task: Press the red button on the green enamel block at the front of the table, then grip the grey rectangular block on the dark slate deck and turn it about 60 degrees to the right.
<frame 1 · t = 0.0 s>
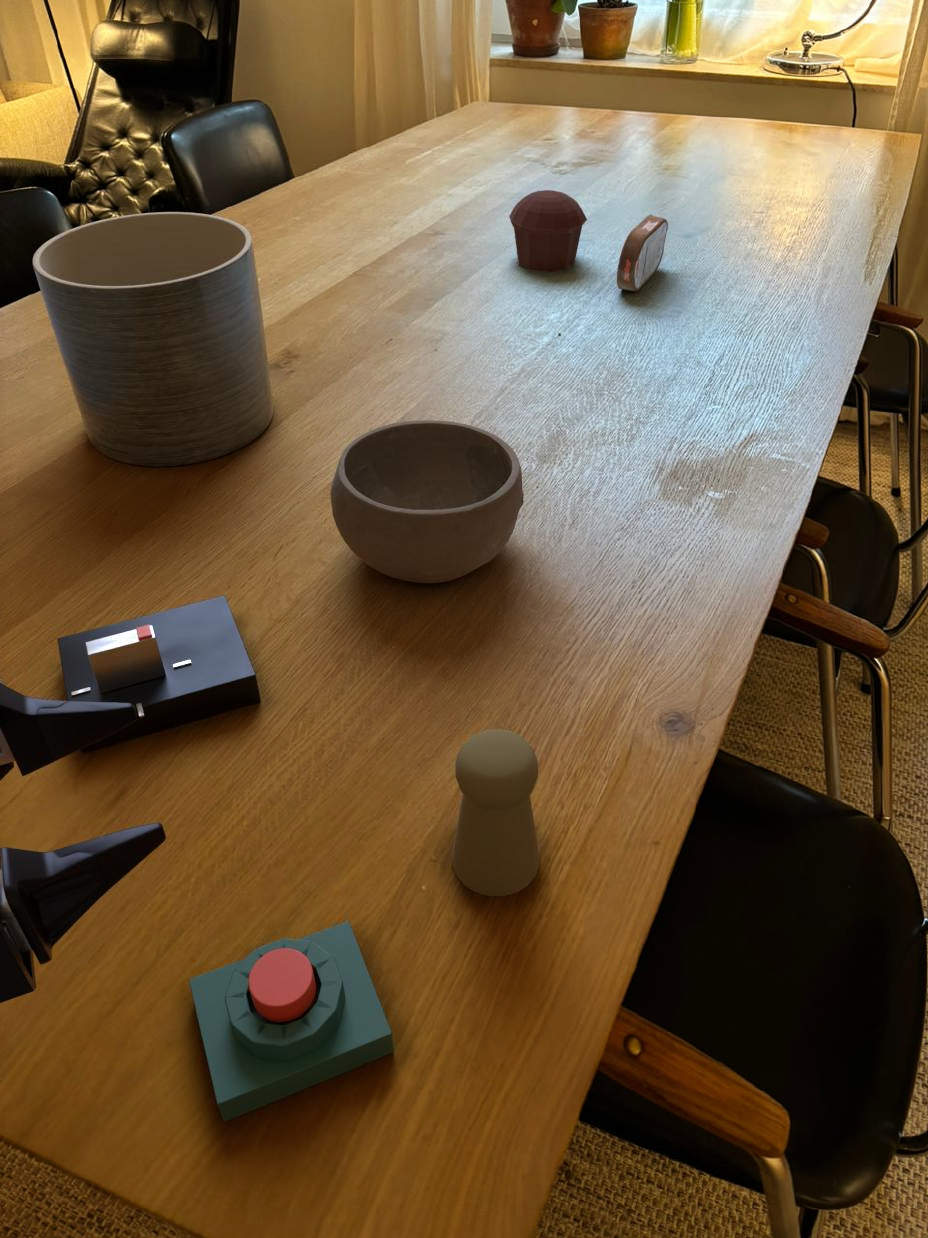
hand: (148, 767, 53), 16 cm above the table, tool horizontal, fingers open, 9 cm apart
button block: (292, 1024, 59), on the table
button: (282, 985, 56), point 4 cm above the table, slide at 0.1 cm
cork: (495, 860, 68), on the table
planter: (182, 421, 116), on the table
grey rectangular block: (126, 658, 76), point 5 cm above the table, hinge at 0.0°
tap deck: (161, 682, 82), on the table
muffin: (546, 262, 153), on the table
bowl: (430, 553, 95), on the table
tin: (640, 282, 146), on the table
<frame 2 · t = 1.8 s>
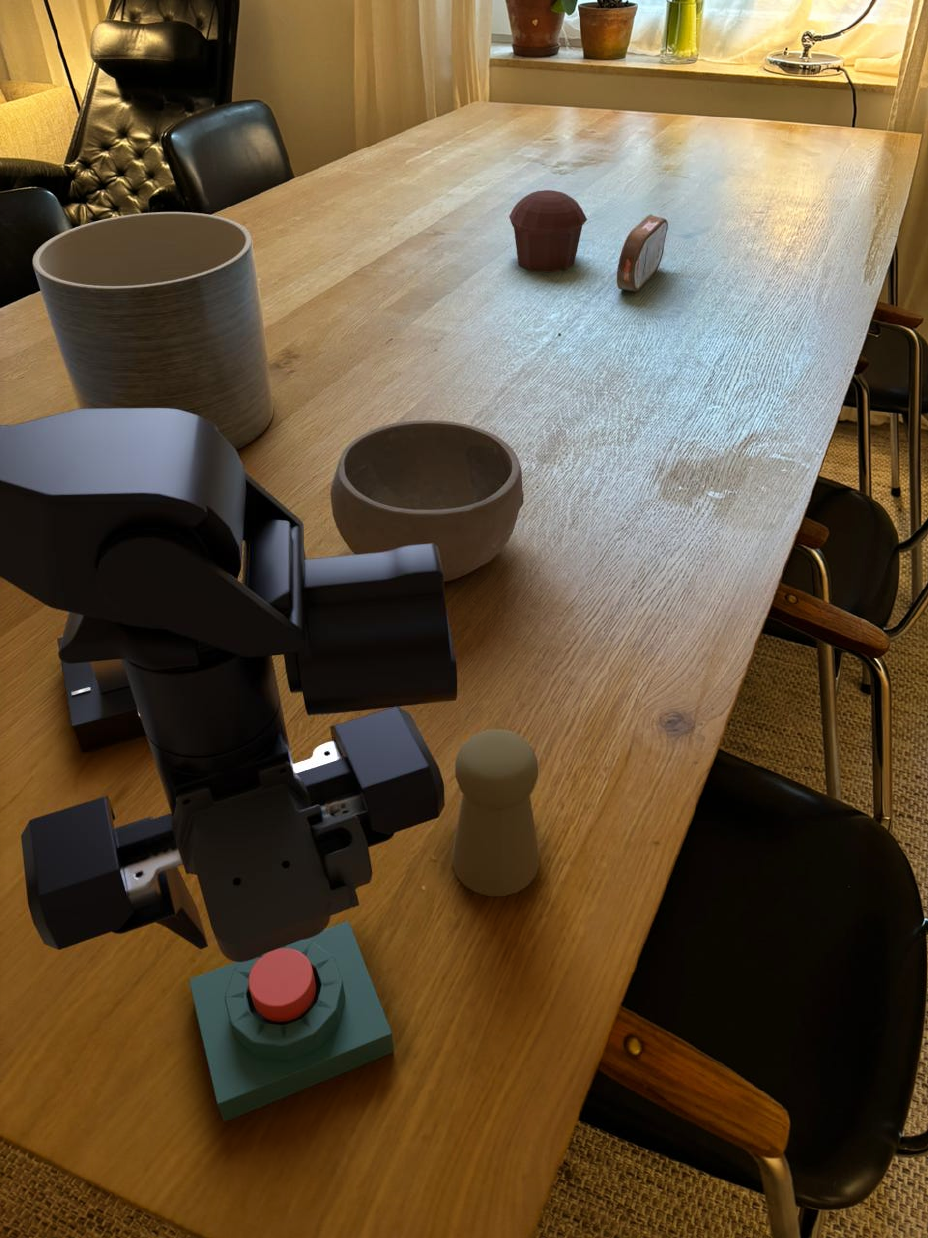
hand: (266, 918, 52), 11 cm above the table, tool pointing down, fingers open, 6 cm apart
nothing on the table moved.
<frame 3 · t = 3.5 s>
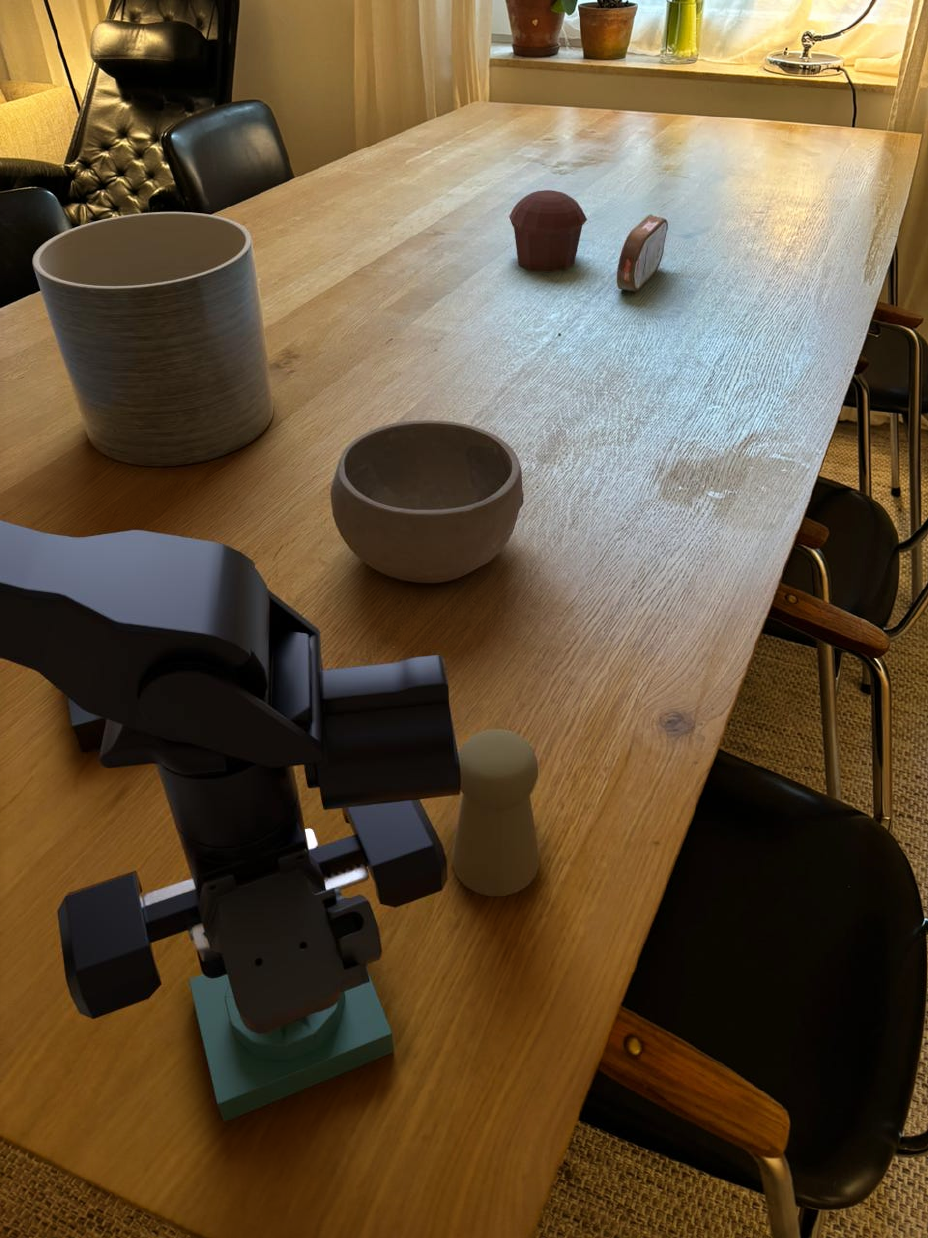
hand: (280, 978, 56), 5 cm above the table, tool pointing down, fingers closed, pressing on button
button: (283, 986, 56), point 4 cm above the table, slide at -0.1 cm, touching gripper
everything else where it was.
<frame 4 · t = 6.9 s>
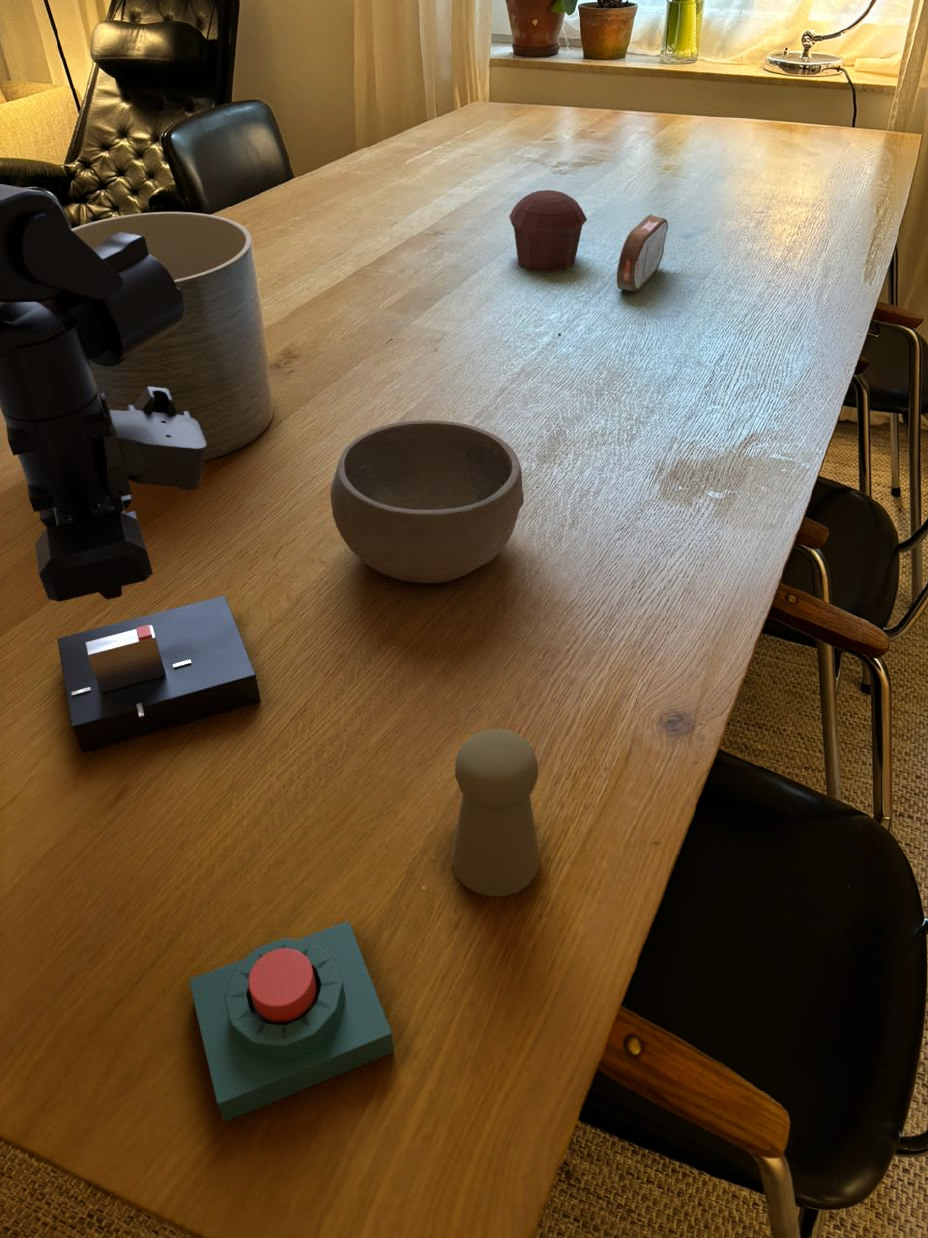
hand: (113, 595, 71), 12 cm above the table, tool pointing down, fingers closed
button: (282, 984, 56), point 4 cm above the table, slide at 0.1 cm
everything else where it was.
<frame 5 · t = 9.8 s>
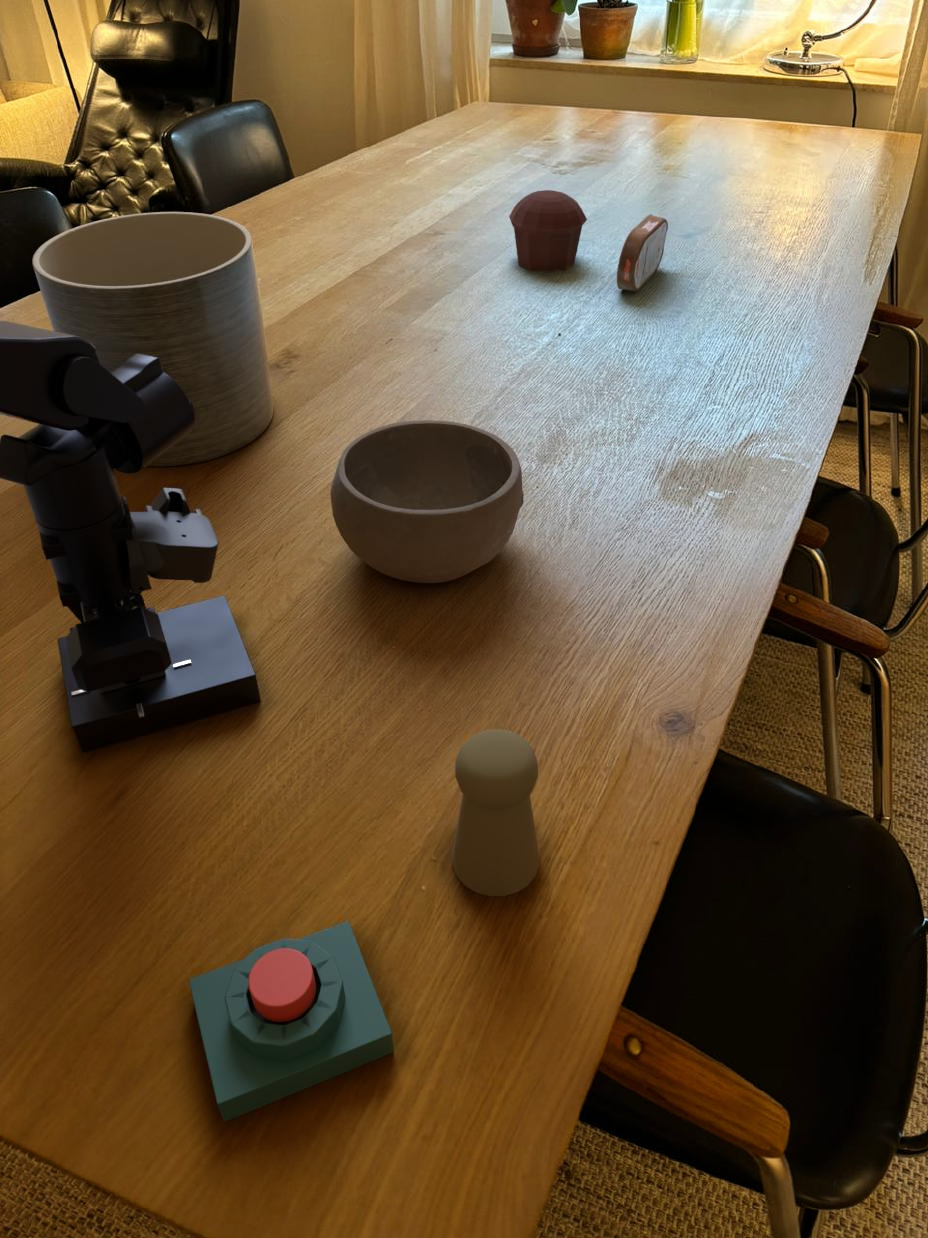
hand: (131, 673, 78), 4 cm above the table, tool pointing down, fingers closed on grey rectangular block, 2 cm apart
grey rectangular block: (126, 658, 76), point 5 cm above the table, hinge at 0.1°, touching gripper
everything else where it was.
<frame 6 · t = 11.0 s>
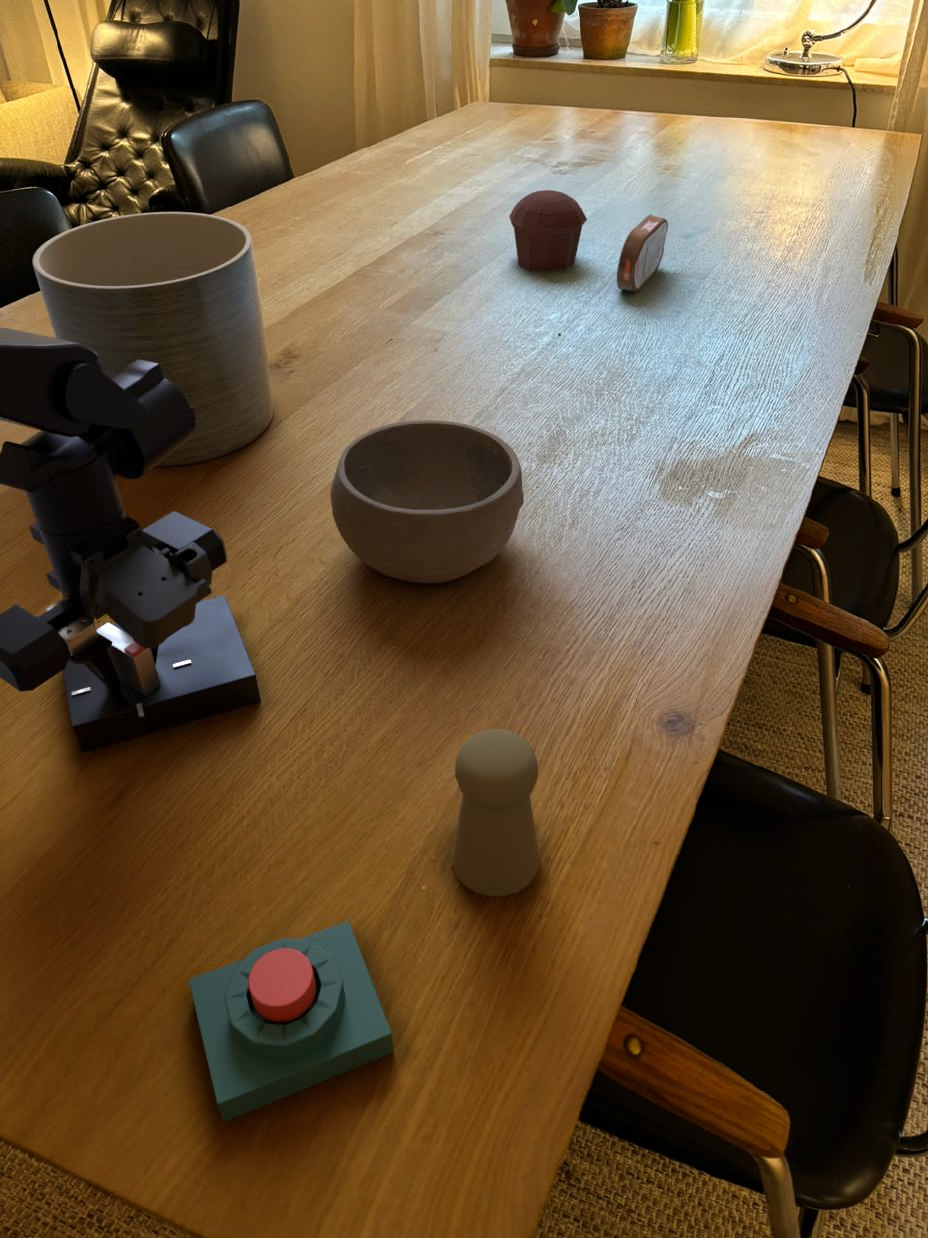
hand: (132, 678, 78), 3 cm above the table, tool pointing down, fingers open, 3 cm apart
grey rectangular block: (126, 658, 76), point 5 cm above the table, hinge at -59.4°
everything else where it was.
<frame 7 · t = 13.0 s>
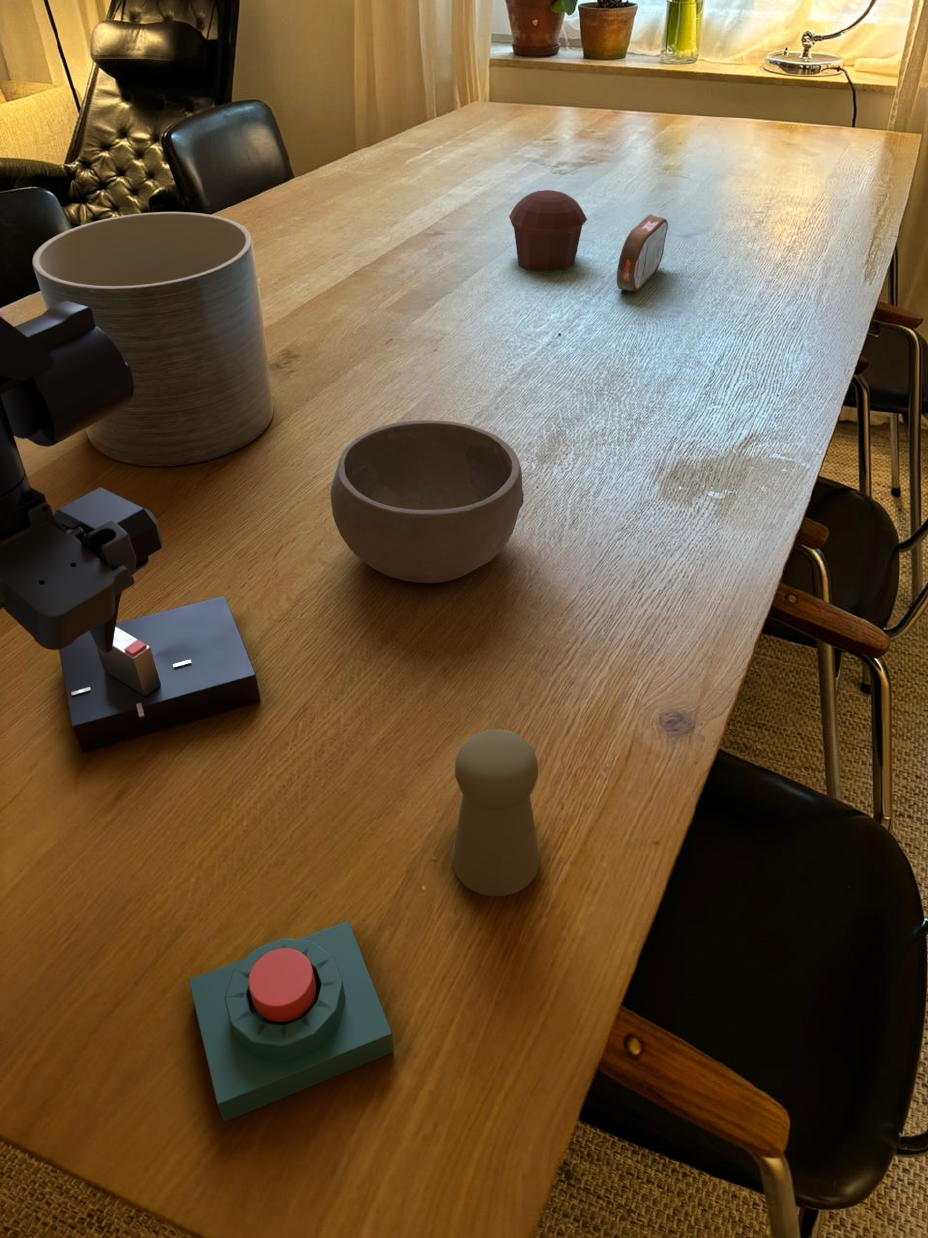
hand: (47, 687, 65), 12 cm above the table, tool pointing down, fingers open, 9 cm apart
nothing on the table moved.
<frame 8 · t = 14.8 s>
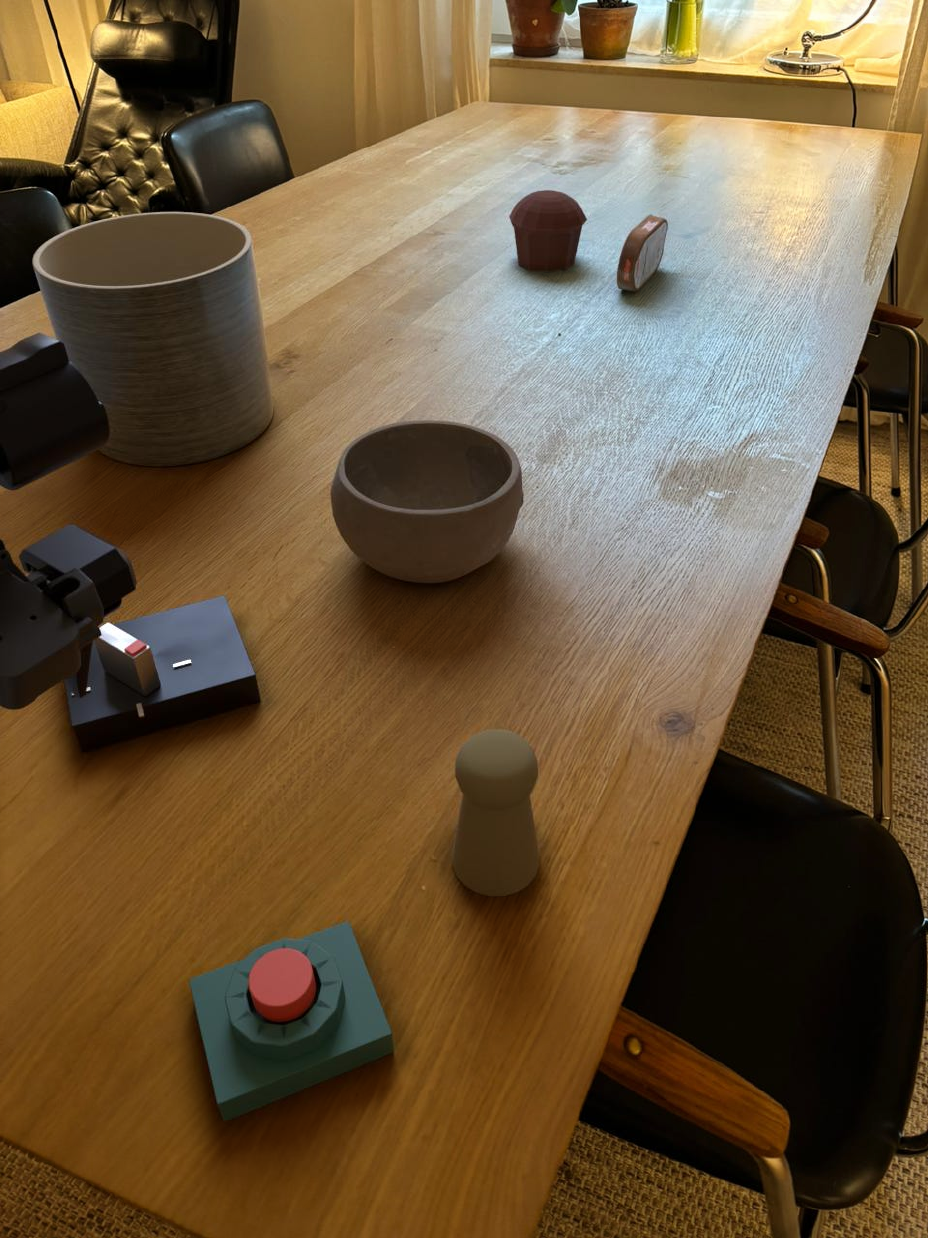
hand: (15, 737, 61), 12 cm above the table, tool pointing down, fingers open, 9 cm apart
nothing on the table moved.
at the end: button pushed in 1.1 cm at the most during the clip, back to where it started at the end; button slide at 0.1 cm; grey rectangular block at -59° (first picture: +0°) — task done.
